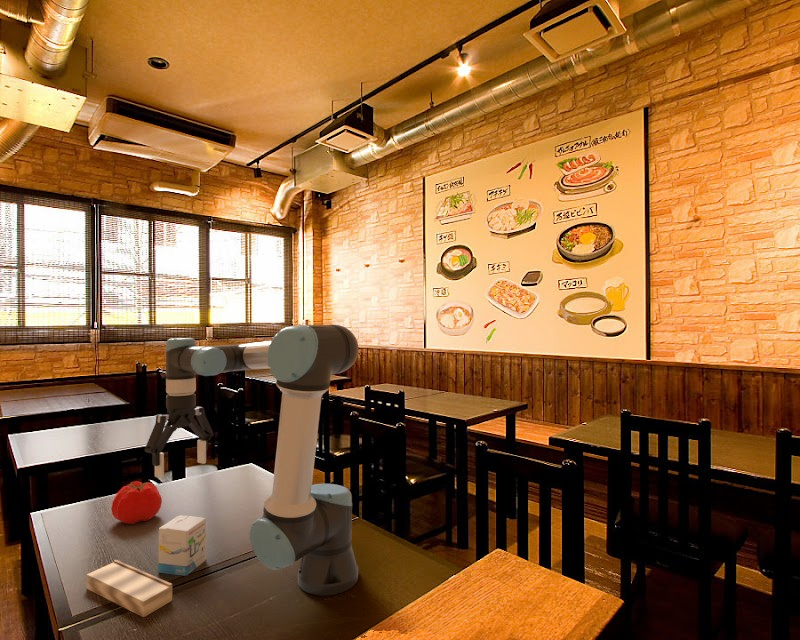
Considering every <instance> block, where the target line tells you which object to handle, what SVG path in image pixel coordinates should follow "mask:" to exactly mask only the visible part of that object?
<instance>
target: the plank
mask: <svg viewBox="0 0 800 640" xmlns="http://www.w3.org/2000/svg"><path fill="white" fill-rule="evenodd" d="M86 589H87V590H88V591H90V592H93V593H95V594H96V595H98V596H101V597H102V598H104V599H106V600H108V601H110V602H112V603H115V604H116V605H117V606H120V607H122V608H124V609H126V610H128V611H130V612H132V613H134V614H136V615H137V616H140V617H142V618H144V617H147V616H148V615H150V614H152V613H153V612H155V611H157V610H158V609H160V608H162V607H164V606H165V605H167V604H169V603H171V602H172V601H173V583H172V582H169V581H167V580H164V579H162V578H160V577H158V576H155V575H153V574H151V573H148V572H146V571H144V570H142V569H139V568H136V567H134V566H132V565H130V564H127V563H125V562H122V561H121V560H118V559H114V560H113V562H111V563H109V564H107V565H104V566H103V567H100V568H98V569H96V570H93V571H92V572H89V573H87V574H86Z"/></svg>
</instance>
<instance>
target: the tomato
mask: <svg viewBox="0 0 800 640" xmlns="http://www.w3.org/2000/svg"><path fill="white" fill-rule="evenodd" d="M162 498H163V497H162V496H161V494H160V491H159V489H158V487H157V486H156V485H155V484H154V483H152V482H148V481H147V482H144V483H143V482H141V481H138V480H136V481H135V480H134V481H131V482H130V483H128V484H126V485H124V486H122V487H121V488H120V489H119V490H118V491H117V493H116V494H115V496H114V498H113V500H112V503H111V508H110V509H111V510H110V511H111V515H112V516H113V517H114V518H115V519H116V520H118V521H120V522H121V523H124V524H128V525H129V524H131V525H134V524H137V523H139V522H147V521H149V520H151V519H152V518H154V517H155V516H156V515H157V514H158V513H159V511H160V509H161V507H162V502H163V501H162Z"/></svg>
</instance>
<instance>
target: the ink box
mask: <svg viewBox="0 0 800 640" xmlns="http://www.w3.org/2000/svg"><path fill="white" fill-rule="evenodd" d="M157 560H158V563H157V564H158V567H157V569H158V570H157V572H158V573H160V574H165V575H166V574H167V575H176V576H184V577H187V576H188V575H190V574H191V573H192V572H193V571H194V570H195V569H197V568H198V567H200V565H202V564H203V563H205V561H206V560H207V518H206V517H200V516H194V515H193V516H192V515H191V516H190V515H177V516H176V517H173V519H171V520H169V521H168V522H166V523H165V524H163V525H162V526H160V527H159V528H158V559H157Z"/></svg>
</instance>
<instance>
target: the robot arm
mask: <svg viewBox="0 0 800 640" xmlns="http://www.w3.org/2000/svg"><path fill="white" fill-rule="evenodd" d="M166 340H167V341H166V343H165V352H164V353H165V386H166V387H165V392H166V393H167V394H166V397H165V405H166V406H165V407H166V409H167V413H166V414H156V416H155V423H154V426H153V428H152V430H151V434H150V435H149V438H148V441H147V443H146V446H145V447H144V452H145V453H149V454H151V455H152V456H151V457H152V459H151V464H152V466H154V477H155V478H159V479H163V478H164V477H165V453H164V452H162V451H163V450H164V448H165V447H166V445H167V443H168V441H169V440H170V438H171V437H172V435H173V433H174V432H176V431H177V430H178V429H182V428H183V427H184V428H185V427H189V428H190V429H191V430H192V431H193V433H194V434H195V435H196V436H197V437H198V438H199V439H198V440H197V442H196V443H197V444H196V445H197V446H196V447H197V451H196V452H197V455H196V456H197V458H196V459H197V463H199V464H202V465H204V464H206V463H207V451H208V448H209V447H208V446H209V445H208V443H209V442H208V441H210V440H212V439H211V437H213V436H214V435H215V434H214V432H213V429H212V427H211V425H210V422H209V420H208V419H207V416H206V412H205V407H204V406H203V407H202V406H197V395H196V393H195V392H196V391H197V382H196V381H197V379H196V377H197V376H196V375H199V376H202V377H203V376H204V377H209V376H212V377H213V376H217V375H219V374H221V373H229V372H239V371H249V370H250V371H252V370H263V369H264V370H265V369H269V373H270V374H271V375H272V377H273V378H274V379H276V380H275V381H276V383H275V384H276V387H277V388H278V389H279V390H280V391H281V393H282V394H281V403H280V412H279V420H278V421H279V422H278V431H277V433H278V434H277V443H276V452H275V461H274V472H273V482H272V491H271V494H270V495H268V497H266V499H265V500H264V501H263V502H264V503H263V513H262V517H258V518H256V519H255V520H254V522H252V524H251V526H250V529H249V539H250V544H251V547H252V550H253V552H254V554H255V556H256V557H257V559H258V561H259V562H261V564H262V565H264V567H266V568H268V569H269V570H275V571H278V570H282V569H284V568H286V567H289V566H292V565H293V564H294V563H296V562H297V561H299V560H300V559H301V560H300V564H299V567H298V569H297V584H298V586H299V588H300V589H301V590H302V591H304V592H305V593H308V594H310V595H315V596H333V595H338V593H339V594H342V593H344V592H346V591H348V590H350V589H351V588H353V587H354V586H355V585H356V584H357V582H358V579H359V565H358V562H357V561H356V557H355V554H354V550H353V547H352V535H353V533H352V529H353V524H352V523H353V516H352V515H353V512H352V511H353V502H352V501H353V500H352V499H353V498H352V493H351V491H350V489H349V488H347V487H346V486H343V485H339V484H334V483H316V484H313V477H314V470H315V469H314V467H315V460H316V449H317V440H318V431H319V422H320V416H321V415H320V414H321V404H322V396H323V395H324V394H325V393H326V392H328V391H329V389H330V387H331V386H330V385H331V376H332V375H333V376H334V375H336V374H341V373H344V372H346V371H347V370H349V369H350V368H352V366H353V365H354V364H355V362H356V361H357V358H358V355H359V343H358V339H357V338H356V336H355V334H354V333H353V332H352V331H351V330H350V329H348V328H347V327H345V326H344V325H339V324H298V325H291V326H286V327H284V328H282V329H280V330H279V331H278V332H277V333H276V334H275V335H274V336H273V337H272V339H271V340H267V341H260V342H259V341H258V342H249V343H239V344H223V345H222V344H221V345H208V346H207V345H205V346H204V345H203V346H202V345H201V346H199V345H198V346H197V343H196V340H195V338H193V337H174V338H169V339H166ZM195 416H196V419H197V420H196V419H195Z"/></svg>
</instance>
